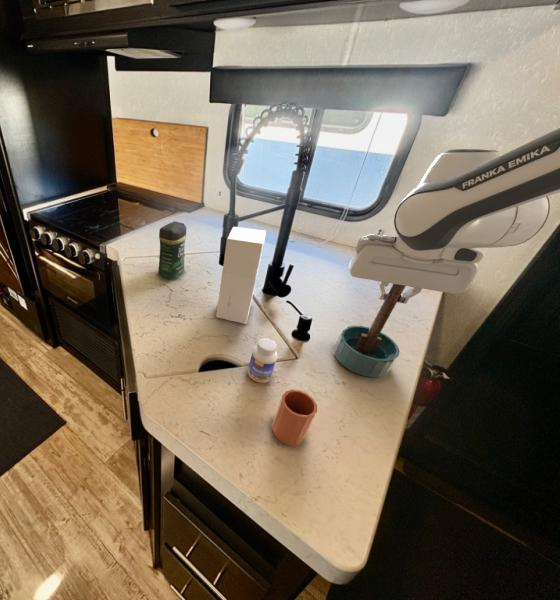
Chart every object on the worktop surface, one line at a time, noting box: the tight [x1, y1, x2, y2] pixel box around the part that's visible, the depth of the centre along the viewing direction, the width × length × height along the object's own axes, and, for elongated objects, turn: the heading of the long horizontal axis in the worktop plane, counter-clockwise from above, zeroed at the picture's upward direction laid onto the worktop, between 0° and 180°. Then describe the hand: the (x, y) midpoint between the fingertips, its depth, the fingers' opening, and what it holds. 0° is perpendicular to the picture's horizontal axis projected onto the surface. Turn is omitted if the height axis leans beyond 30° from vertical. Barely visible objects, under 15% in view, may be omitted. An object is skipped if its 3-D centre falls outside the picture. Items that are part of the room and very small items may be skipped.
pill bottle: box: [247, 337, 278, 384], centre depth 71 cm, size 5×5×10 cm
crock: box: [271, 389, 318, 447], centre depth 59 cm, size 6×6×9 cm
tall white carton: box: [216, 226, 267, 325], centre depth 86 cm, size 9×9×25 cm
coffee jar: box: [158, 220, 187, 280], centre depth 107 cm, size 10×8×19 cm
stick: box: [355, 283, 407, 355], centre depth 70 cm, size 4×2×20 cm, turn 69°
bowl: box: [333, 325, 400, 378], centre depth 76 cm, size 12×12×6 cm
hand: (391, 300), depth 67 cm, fingers closed on stick, 2 cm apart
